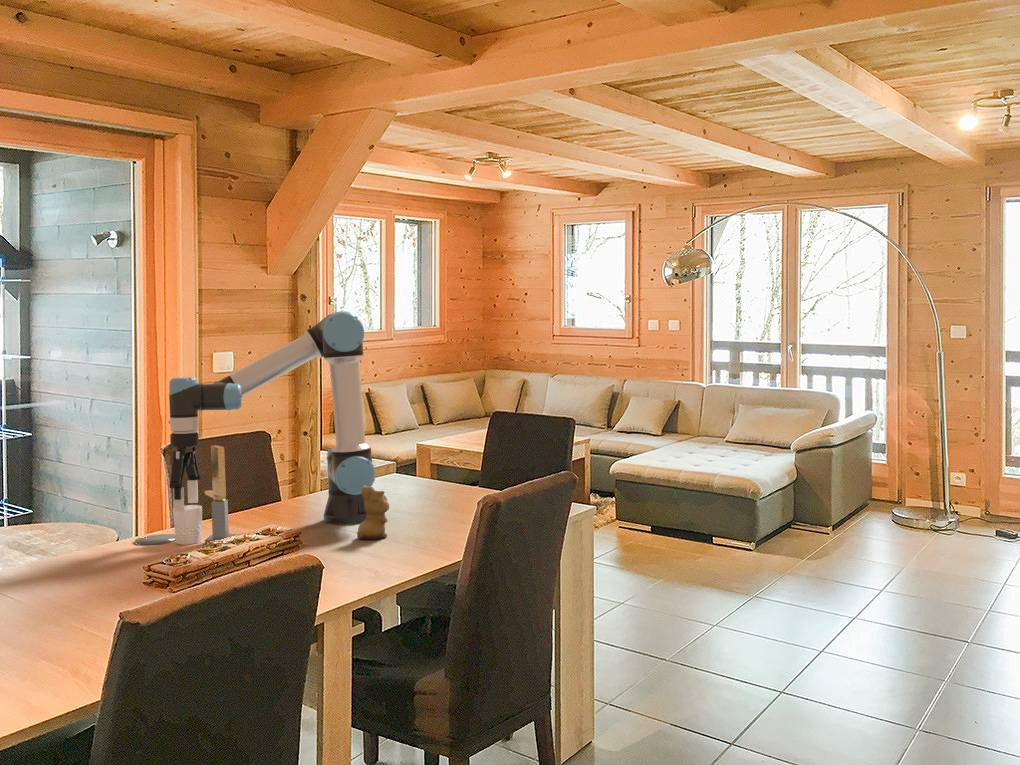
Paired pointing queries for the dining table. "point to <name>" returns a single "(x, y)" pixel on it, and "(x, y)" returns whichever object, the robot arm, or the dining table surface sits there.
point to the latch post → (219, 521)
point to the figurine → (373, 515)
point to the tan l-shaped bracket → (217, 474)
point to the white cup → (188, 524)
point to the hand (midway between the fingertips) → (186, 506)
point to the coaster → (156, 539)
